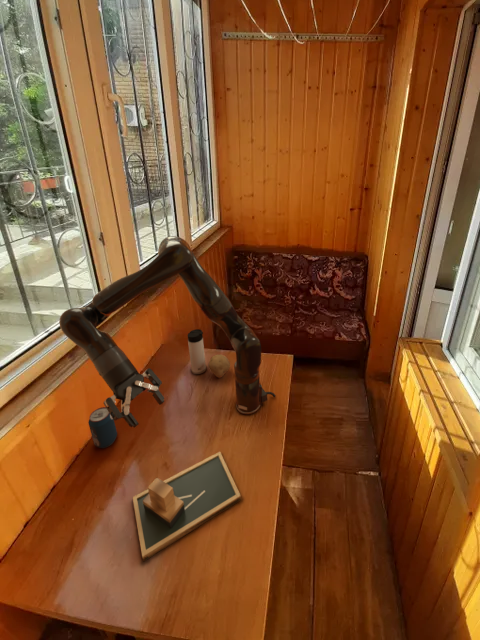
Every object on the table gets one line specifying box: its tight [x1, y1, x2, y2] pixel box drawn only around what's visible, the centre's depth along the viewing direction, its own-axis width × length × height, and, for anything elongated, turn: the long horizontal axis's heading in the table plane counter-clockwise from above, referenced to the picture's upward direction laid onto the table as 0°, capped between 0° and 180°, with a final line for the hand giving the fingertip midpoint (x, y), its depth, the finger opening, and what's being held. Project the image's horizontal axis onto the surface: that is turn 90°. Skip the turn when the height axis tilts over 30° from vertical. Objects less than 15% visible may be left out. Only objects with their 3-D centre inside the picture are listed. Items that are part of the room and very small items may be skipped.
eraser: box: [143, 477, 185, 529], centre depth 84 cm, size 10×5×9 cm, turn 63°
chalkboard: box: [132, 451, 242, 562], centre depth 88 cm, size 26×16×2 cm, turn 123°
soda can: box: [88, 406, 118, 449], centre depth 104 cm, size 7×7×12 cm
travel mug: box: [187, 328, 207, 375], centre depth 137 cm, size 6×7×20 cm
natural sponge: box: [208, 354, 231, 378], centre depth 136 cm, size 9×9×10 cm
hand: (150, 414), depth 85 cm, fingers open, 8 cm apart
